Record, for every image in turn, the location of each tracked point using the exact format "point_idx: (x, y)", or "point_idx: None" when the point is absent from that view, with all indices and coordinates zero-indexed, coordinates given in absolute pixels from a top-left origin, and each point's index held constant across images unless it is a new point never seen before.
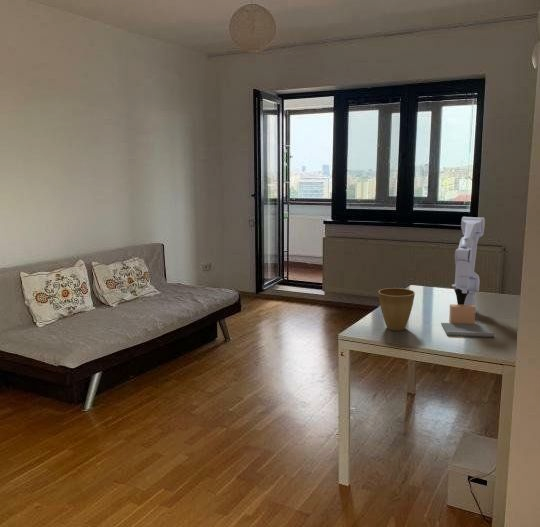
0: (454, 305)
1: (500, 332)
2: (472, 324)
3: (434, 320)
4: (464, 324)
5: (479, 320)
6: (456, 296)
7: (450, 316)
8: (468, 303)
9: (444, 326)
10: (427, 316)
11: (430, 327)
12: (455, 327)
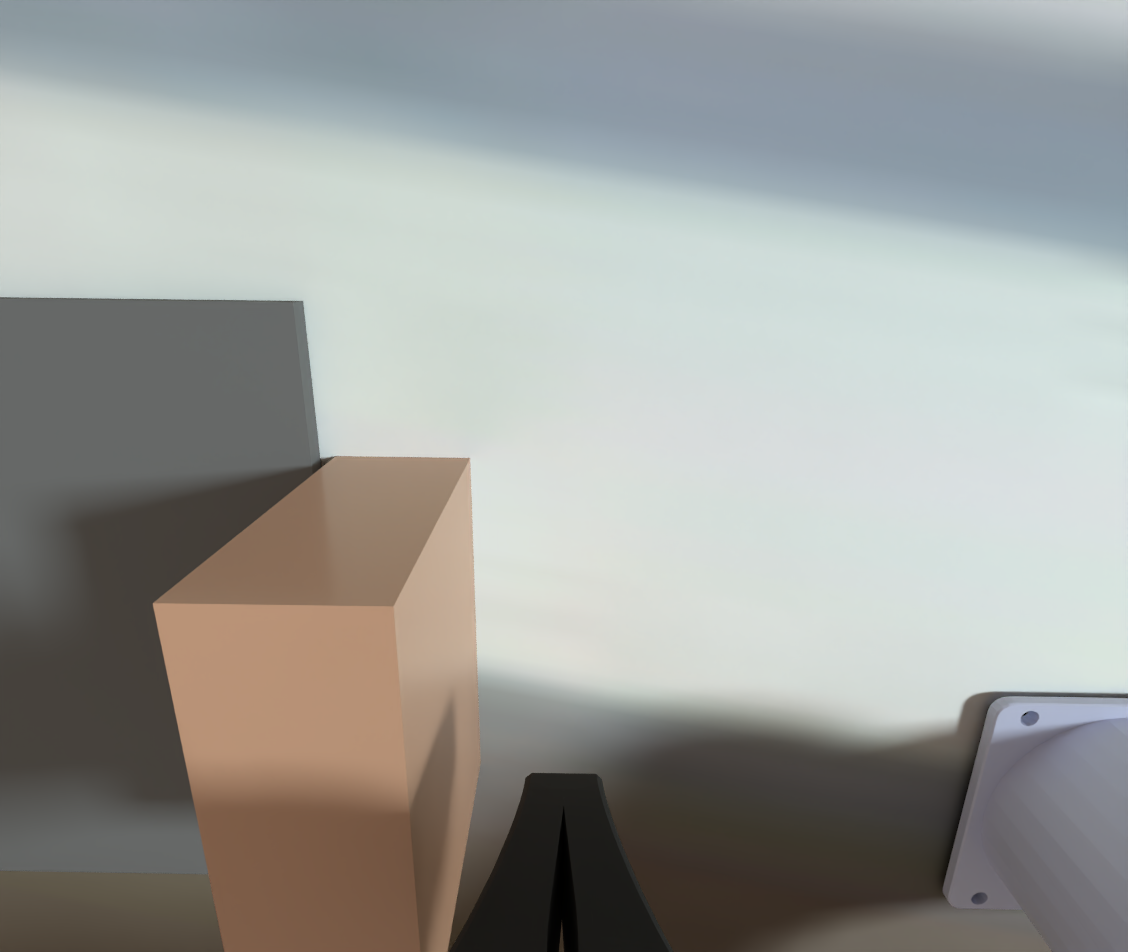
0: (289, 695)
1: (123, 947)
2: None
3: (515, 215)
4: None
5: None
6: (657, 950)
7: (325, 497)
8: (1075, 934)
9: (76, 323)
10: (776, 112)
11: (43, 59)
12: (79, 492)
